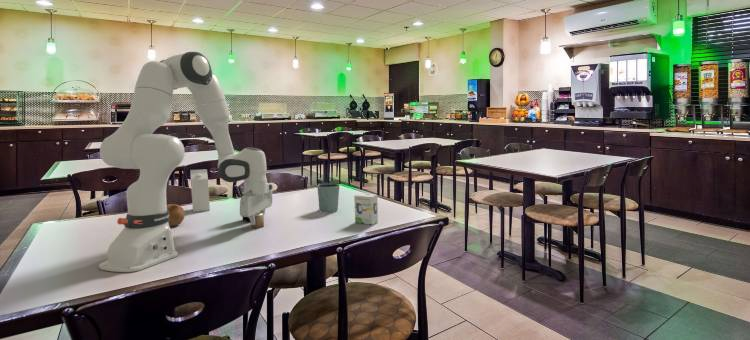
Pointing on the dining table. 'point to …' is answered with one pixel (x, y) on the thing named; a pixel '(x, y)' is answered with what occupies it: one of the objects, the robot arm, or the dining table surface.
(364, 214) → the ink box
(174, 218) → the onion
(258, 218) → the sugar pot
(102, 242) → the dining table surface
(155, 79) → the robot arm
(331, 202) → the grey green pot
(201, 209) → the milk carton
